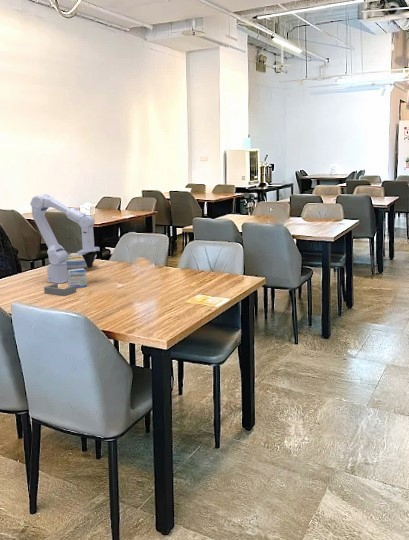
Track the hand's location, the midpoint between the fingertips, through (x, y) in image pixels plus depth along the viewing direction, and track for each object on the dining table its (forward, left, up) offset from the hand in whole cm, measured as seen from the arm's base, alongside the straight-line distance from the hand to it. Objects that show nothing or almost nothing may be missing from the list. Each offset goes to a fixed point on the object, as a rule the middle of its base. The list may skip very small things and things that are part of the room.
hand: (89, 267), depth 261 cm
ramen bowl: (-28, +23, -8) cm, 37 cm away
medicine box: (0, -10, -8) cm, 13 cm away
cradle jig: (0, -22, -8) cm, 23 cm away
